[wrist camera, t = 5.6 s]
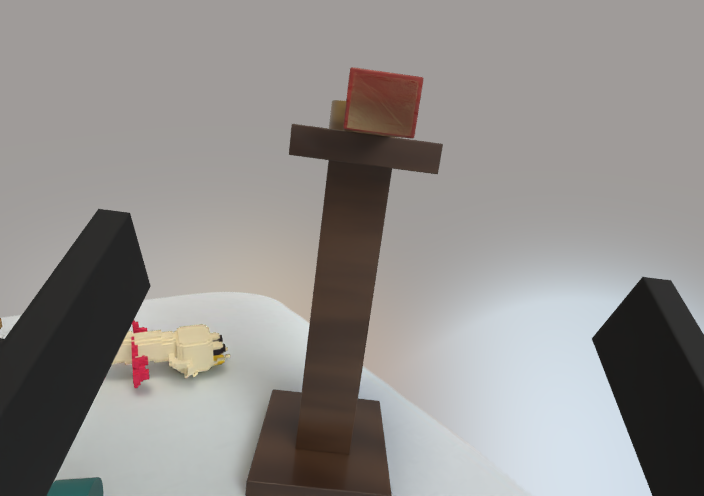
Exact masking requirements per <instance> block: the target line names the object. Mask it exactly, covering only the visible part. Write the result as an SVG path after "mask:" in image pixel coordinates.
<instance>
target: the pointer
mask: <svg viewBox="0 0 704 496" xmlns="http://www.w3.org/2000/svg"><path fill="white" fill-rule="evenodd" d="M422 85H423V78H422V77H417V76H410V75H403V74H395V73H389V72H382V71H374V70H367V69H360V68H351V69H350V75H349V83H348V92H347V99H346V101H338V100H334V101H332V107H331V115H330V124H329V129H335V130H342V131H350V132H357V133H365V134H372V135H379V136H387V137H394V138H395V137H401V138H414V135H415V129H416V122H417V117H418V109H419V104H420V98H421V91H422Z"/></svg>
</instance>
